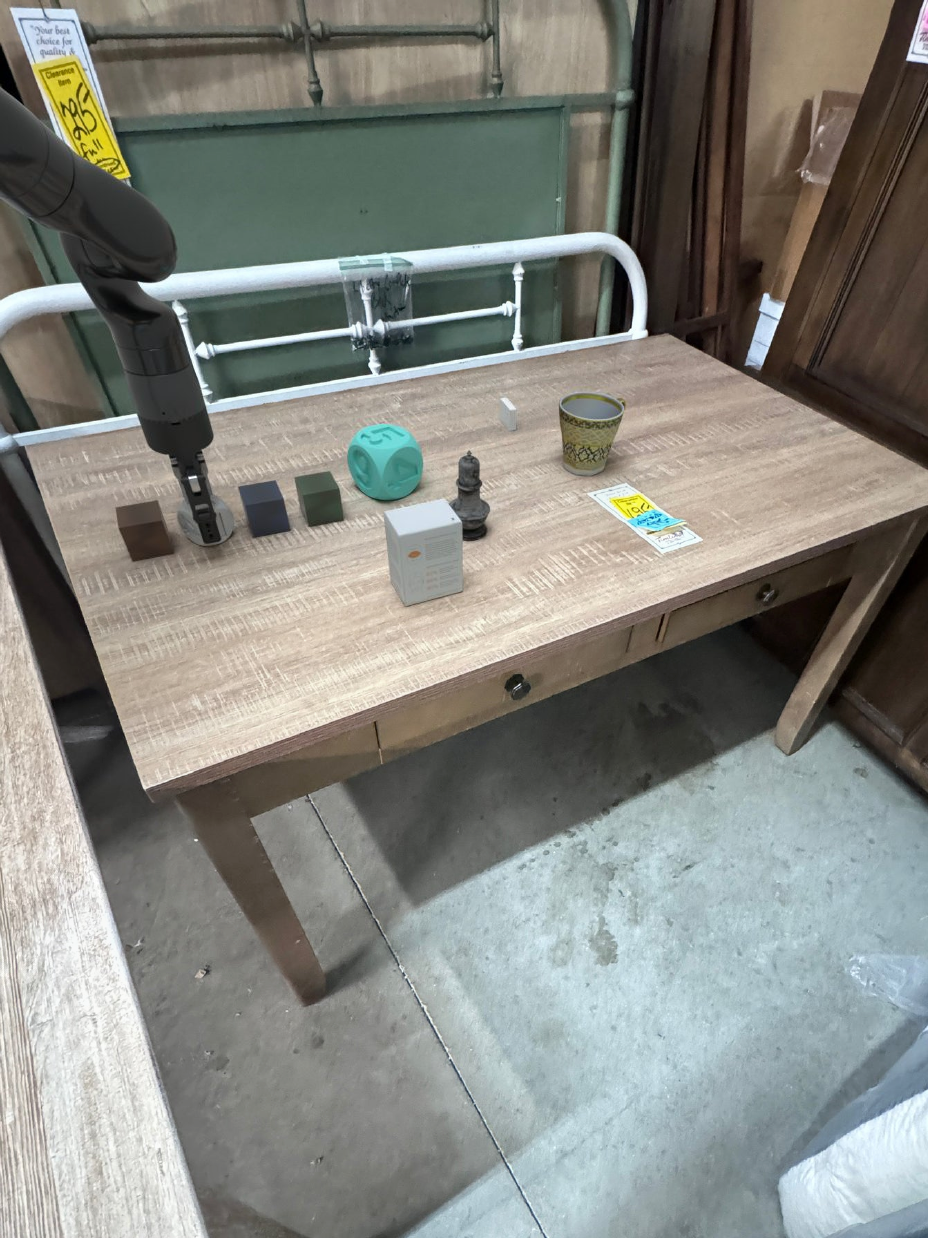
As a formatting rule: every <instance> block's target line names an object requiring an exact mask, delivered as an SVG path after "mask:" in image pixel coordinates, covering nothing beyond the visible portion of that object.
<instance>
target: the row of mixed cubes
mask: <svg viewBox="0 0 928 1238" xmlns="http://www.w3.org/2000/svg"><path fill="white" fill-rule="evenodd" d="M293 478H294V483H295V484H294V485H295V488H296V493H297V494H296V495H297V498H298V504H299V510H300V511H301V513H302V515H303V518H304V520H305V522H306V524H307V526H308V528H309V527H310V528H311V527H314V526H320V525H325V524H329V523H335V522H340V521H341V522H342V521H344V520H345V517H344V509H343V503H342V495H341V489H340V487H339V484H338V483H337V481H336V480H335V478H334V475H333V474H332V472H331V471H330V470H328V471H322V472H316V473H309V474H304V475H299V476H294V477H293ZM237 489H238V493H239V497H240V500H241V504H242V509H243V511H244V515H245V520H246V522H247V525H248V528H249V530H250V533H251V535H252V538H260V537H263V536H269V535H275V534H279V533H280V534H281V533H285V532H289V531H291V526H290V521H289V516H288V513H287V508H286V503H285V498H284V495H283V494H282V491H281V489H280V487H279V484H278V483H277V480H275V479H274V480H268V481H262V482H256V483H250V484H245V485H239V486H237ZM115 514H116V521H117V528H118V531H119V533H120V535H121V538H122V541H123V543H124V545H125V547H126V549H127V552H128V554H129V557H130V560H131V561H132V562H136V561H141V560H147V559H151V558H156V557H157V558H158V557H162V556H167V555H173V554H175V551H174V547H173V546H174V545H173V542H172V538H171V533H170V530H169V527H168V525H167V522H166V520H165V519H166V518H165V517H164V514H163V510H162V508H161V506H160V502H159V500H157V499H156V500H150V501H144V502H139V503H133V504H127V505H122V506H121V505H120V506H116V507H115Z"/></svg>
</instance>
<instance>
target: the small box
mask: <svg viewBox="0 0 928 1238" xmlns="http://www.w3.org/2000/svg"><path fill="white" fill-rule="evenodd" d="M382 514H383V523H384V524H383V525H384V533H385V541H386V542H385V543H386V551H387V560H388V569H389V578H390V583H391V584H392V586H393V588H394V590H395V592H396V593H397V595H398V597H399V598H400V600H401V602H402V604H403V605H404V606H405V607H408V606H411V605H416V604H419V603H424V602H426V601H430V600H435V599H439V598H442V597H445V596H451V595H454V594H457V593H460V592H463V591H464V563H463V562H464V561H463V560H464V559H463V558H464V555H463V554H464V553H463V546H464V545H463V544H464V543H463V542H464V540H463V537H462V521H461V520H460V519H459V517H458V516H457V515H456V513H455V512H454V511H453V509H452V508H451V507H450V505H449V503H448V501H447V500H446V499H445V498H440V499H434V500H431V501H426V502H421V503H416V504H412V505H407V506H403V507H398V508H393V509H389V510H384V511H383V513H382Z"/></svg>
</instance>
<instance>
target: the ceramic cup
mask: <svg viewBox="0 0 928 1238" xmlns="http://www.w3.org/2000/svg"><path fill="white" fill-rule="evenodd" d="M626 404H627V402H626V400H625V399H624V398H621V397H618V398H615V397H613V396H611V395H609V394H605V393H602V392H596V391H575V392H574V391H573V392H570V393H567V394H565V395H563V396H562V397H560V399H559V401H558V416H559V426H560V427H559V428H560V433H561V442H562V462H563V468H564V469H565V470H566V471H568V472H570V474H573V475H576V476H586V477H587V476H588V477H592V476H594V475H596V474H599V473H601V472H603V471H604V469H605V466H606V464H607V462H608V461H607V459H608V458H609V455H610V451H611V449H612V446H613V443H614V440H615V439H616V435H617V434H618V431H619V428H620V424H621V423H622V419H623V416H624V412H625V410H626V406H627V405H626Z"/></svg>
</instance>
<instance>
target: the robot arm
mask: <svg viewBox="0 0 928 1238" xmlns="http://www.w3.org/2000/svg"><path fill="white" fill-rule="evenodd" d="M0 199H1V200H2V201H3V202H5V203H7V204H8V205H9V206H10V207H11V208H14V210H15V211H18V212H19V213H20V214H22V215H23V216H25V218H27V219H29V220H30V221H32V222H34V223H36V224H38V225H40V226H42V227H44V228H46V229H49V230H52V231H55V232H57V237H58V240H59V243H60V246H61V249H62V252H63V254H64V256H65V259H66V260H67V262H68V264H69V266H70V268H71V269H72V271H73V272H74V274H75V276H76V278H77V279H78V281H79V282H80V285H81V286H82V287H83V290H84V291H85V292H86V294H87V295H88V297H89V299H90V301H91V302H92V304H93V305H94V307H95V309H96V310H97V312H98V313H99V315H100V316H101V317H102V319H103V321H104V322H105V323H106V325H107V327H108V328H109V331H110V333H111V334H110V335H111V337H112V340H113V342H114V345H115V348H116V351H117V355H118V357H119V360H120V362H121V366H122V369H123V372H124V377H125V381H126V386H127V389H128V390H127V391H128V392H129V393H128V394H129V396H130V399H131V401H132V404H133V407H134V410H135V413H136V416H137V419H138V422H139V424H140V427H141V430H142V434H143V436H144V438H145V441H146V445H147V446H148V447H149V448H150V449H151V450H152V451H154V452H156V453H158V454H160V455H164V456H168V459H169V461H170V466H171V469H172V473H173V476H174V478H175V479H177V481H178V485H179V487H180V491H181V494H182V497H183V500H185V501H187V502H189V504H190V507H191V510H192V516H193V520H194V521H195V522H196V523H197V524H198V527H199V530H200V533H201V536H202V539H203V542H204V543H205V544H210V543H215V542H219V541H221V536H220V532H219V529H218V526H217V523H216V520H217V519H216V517H217V515H216V512H215V509H213V506H212V503H211V498H212V497H213V494H214V492H213V488H212V486H211V481H210V478H209V476H208V475H209V468H208V466H207V465H208V464H207V462H206V458H205V455H204V452H203V450H206V449H207V448H208V447H209V446H210V445H211V444H212V443H213V441H214V437H215V436H214V435H215V434H214V430H213V427H212V423H211V420H210V416H209V412H208V409H207V408H208V407H207V405H206V402H205V398H204V394H203V391H202V387H201V383H200V380H199V377H198V375H197V373H196V371H195V368H194V365H193V363H192V359H191V356H190V352H189V348H188V345H187V341H186V338H185V334H184V332H183V331H184V330H183V328H182V324H181V321H180V319H179V316H178V314H177V312H176V311H175V309H173V307H171V306H170V305H168V303H165V302H164V301H161V300H159V299H157V298H155V297H153V296H151V295H149V294H148V293H147V292H146V291H145V290H144V289H143V288H142V286H141V285H140V283H143V284H156V283H157V284H158V283H160V282H163V281H165V280H167V279H168V278H170V276H171V275H173V273H174V272H175V269H176V267H177V264H178V259H179V247H178V242H177V239H176V236H175V234H174V231H173V228H172V227H171V224H170V223H169V221H168V219H167V218H166V217H165V215H164V214H163V213H162V211H160V209H159V208H158V207H157V206H156V205H155V204H154V203H153V202H152V201H151V200H149V198H148V197H146V196H145V195H144V194H142V193H141V192H139V191H138V190H136V189H135V188H134V187H132V186H131V185H129V184H128V183H126V182H124V181H122V180H121V179H120V178H118V177H117V176H115V175H113V174H112V173H110V172H108V171H107V170H106V169H104V168H103V167H101V166H98V165H97V164H95V163H94V162H91V161H90V160H88V159H86V158H85V157H83V156H81V155H80V154H78V153H77V152H76V151H74V150H73V149H72V148H71V146H69V145H68V144H67V143H66V142H65V141H64V140H63V139H62V138H61V137H59V135H57V134H56V133H55V132H54V131H53V130H51V128H50V127H48V126H47V125H46V124H45V122H43V121H41V120H40V118H38V117H37V116H36V115H35V114H34V113H33V112H32V111H31V110H30V109H28V108H27V107H26V106H25V105H23V103H21V102H20V101H19V100H18V99H16V97H14V96H13V95H11V94H10V93H9V92H7V91H6V90H5V89H4V88H2V87H1V86H0ZM201 504H207V505H208V506H209V508H203V509H197V511H196V508H195V506H196V505H201Z"/></svg>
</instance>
